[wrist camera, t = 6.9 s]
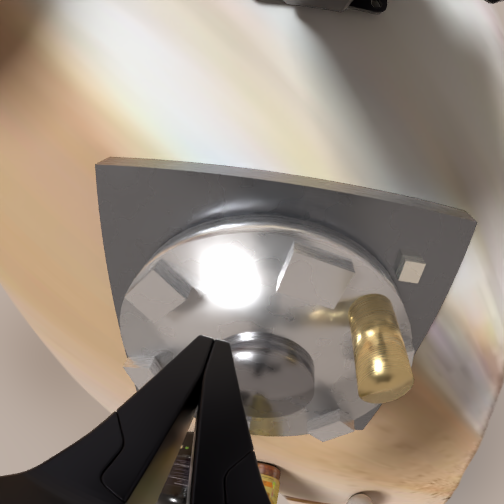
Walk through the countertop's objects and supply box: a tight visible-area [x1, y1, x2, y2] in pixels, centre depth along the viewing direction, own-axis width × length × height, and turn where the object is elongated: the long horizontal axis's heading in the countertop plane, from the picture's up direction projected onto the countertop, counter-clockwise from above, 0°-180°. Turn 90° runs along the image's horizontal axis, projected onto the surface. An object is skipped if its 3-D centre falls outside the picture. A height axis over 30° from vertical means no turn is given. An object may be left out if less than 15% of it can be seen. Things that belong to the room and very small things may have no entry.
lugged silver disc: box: [120, 214, 414, 442], centre depth 16 cm, size 17×17×6 cm
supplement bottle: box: [156, 432, 194, 504], centre depth 26 cm, size 7×7×12 cm
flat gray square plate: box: [95, 157, 477, 430], centre depth 19 cm, size 20×20×2 cm
